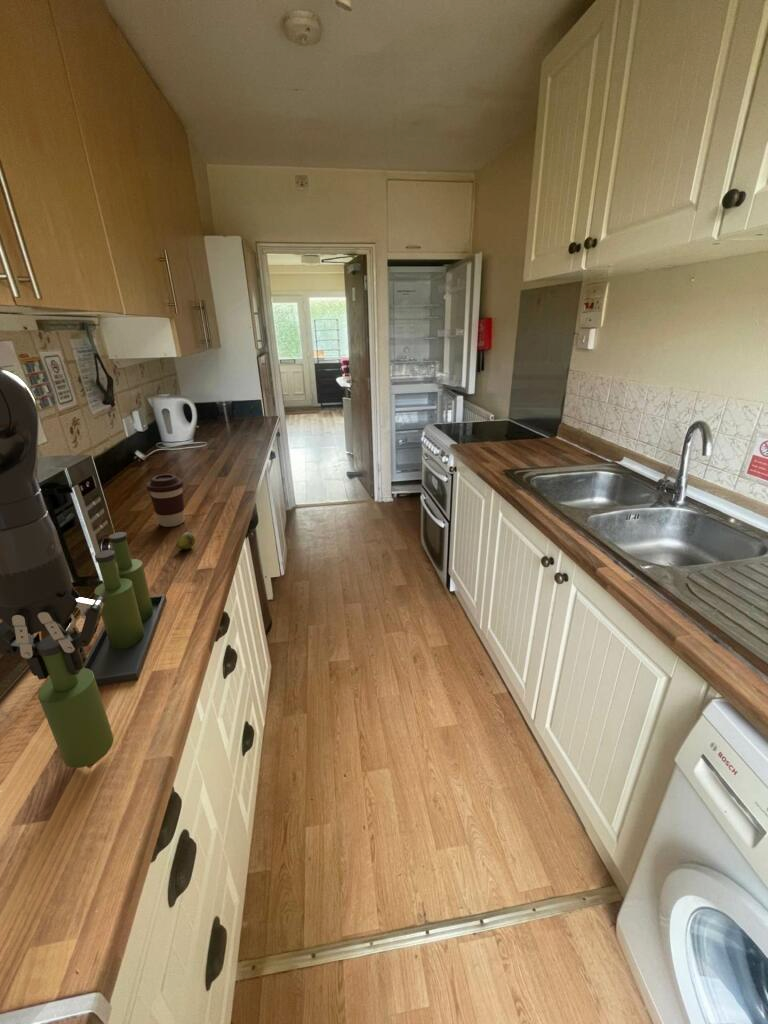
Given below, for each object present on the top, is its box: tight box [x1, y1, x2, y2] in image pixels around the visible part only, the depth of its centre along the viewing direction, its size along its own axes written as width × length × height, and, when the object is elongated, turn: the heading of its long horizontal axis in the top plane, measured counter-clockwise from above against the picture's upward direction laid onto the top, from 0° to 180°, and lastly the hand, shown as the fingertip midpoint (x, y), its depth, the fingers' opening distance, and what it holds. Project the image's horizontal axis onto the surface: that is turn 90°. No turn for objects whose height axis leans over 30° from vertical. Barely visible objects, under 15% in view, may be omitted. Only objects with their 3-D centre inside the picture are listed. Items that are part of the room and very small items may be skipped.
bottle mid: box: [94, 549, 145, 649], centre depth 80 cm, size 6×6×19 cm
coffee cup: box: [146, 473, 186, 528], centre depth 131 cm, size 10×10×15 cm
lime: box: [176, 531, 196, 551], centre depth 118 cm, size 4×5×5 cm
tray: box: [83, 594, 168, 687], centre depth 84 cm, size 24×10×2 cm, turn 14°
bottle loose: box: [36, 635, 114, 769], centre depth 57 cm, size 6×6×19 cm
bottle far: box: [108, 531, 154, 622], centre depth 87 cm, size 6×6×19 cm
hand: (61, 671), depth 55 cm, fingers closed on bottle loose, 3 cm apart
